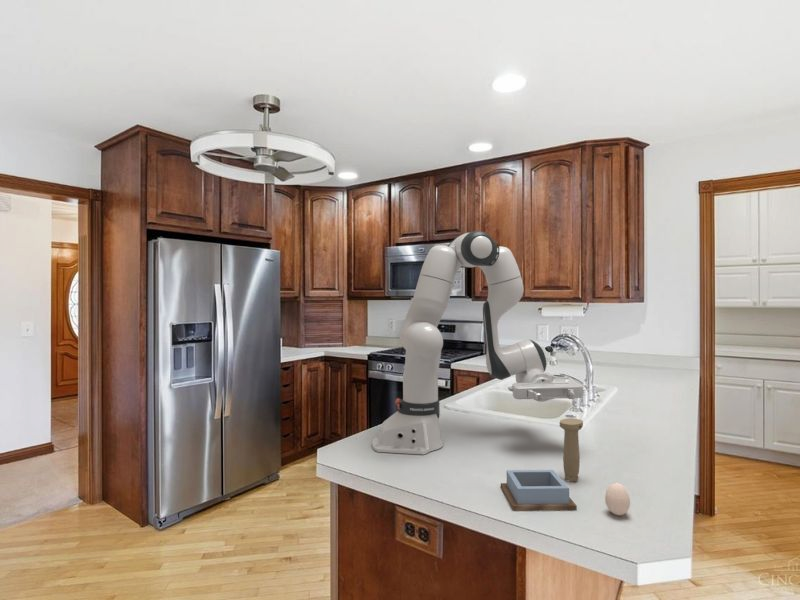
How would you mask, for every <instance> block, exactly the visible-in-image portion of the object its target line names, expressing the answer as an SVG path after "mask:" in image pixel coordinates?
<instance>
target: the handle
mask: <svg viewBox="0 0 800 600" xmlns="http://www.w3.org/2000/svg"><path fill="white" fill-rule="evenodd" d="M583 426H584V421H583V420H582V419H580V418H573V417H569V418H562V419H560V420H559V427H560V428H561V429H562V430H564V431H563V432H564V437H563V440H564V441H563V452H562V453H563V455H562V457H563V458H562V459H563V461H562V463H563V471H564V480H565V481H568V482H571V483H572V482H574V481H575V482H578V480H579V473H580V463H581V462H580V457H581V455H580V445H579V444H580V443H579V431H580V430H582V428H583Z"/></svg>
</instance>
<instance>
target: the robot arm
mask: <svg viewBox="0 0 800 600" xmlns="http://www.w3.org/2000/svg"><path fill="white" fill-rule="evenodd" d="M475 267H479V268H480V269H481V271H482V272H483V275H484V276H485V281H486V285H487V291H488V292H487V293H488V294H487V299H486V301H484V303H483V304H482V320H483V321H482V322H483V331H484V332H483V334H484V342H485V354H486V355H485V356H486V357H485V364H486V369H487V372H488V373H489V375H490V376H491V377H492V378H494V379H497V380H500V381H503V380H505V379H508V378H510V377H512V376H515V382H514V383H512V386H508V391H509V392H512V396H513V398H514V399H515V400H534V401H536V402H542V403H543V402H547V401H551V400H554V399H555V400H556V399H569V400H575V399H581V398H583V397H584V388H583V387H584V386H583V385H582V384H581V383H579V382H578V381H575V380H573V379H571V378H569V376H568V375H562V374H561V375H559V374H553V373H548V372H546V370H547V366H548V365H547V357H546V355H545V352H544V350H543V348H542V347H541V346H540V344H538V343H537V342H535V340H532V339H526V340H523V341H519V342H516V343H513V344H509V345H507V346H503V347H500V340H499V331H498V323H499V320H500V319H501V318H502V316H504V315H505V314H506V313H507V312H508V311H509V310H511V309H513V307H515V306H516V305H517V304H518V303H519V302H520V301H521V299H522V297H523V295H524V292H525V291H524V282H523V279H522V276H521V271H520V269H519V265H518V263H517V260H516V258H515V256H514V254H513V252H512V250H511V249H510V248H508V247H506V246H501V245H500V246H499V244H497V243H496V242H495V240H494V239H493V237H492V236H490V235H489V234H488V233H487V232H484V231H481V230H474V231H471V232H465V233H463V234H461V235H459V236H457V237H455V238H454V239H453V240H451V242H450V243H449V244H448V245H443V244H439V245H434V246H432V247H431V248H430V249H429V251H428V253H427V254H426V257H425V259H424V262H423V264H422V267H421V270H420V273H419V276H418V280H417V283H416V287H415V291H414V294H413V297H412V300H411V304H410V306H409V309H408V310H407V313H406V315H405V318H404V322H403V325H402V327H401V328H400V329H401V330H400V332H399V341H400V344H401V346H402V347H403V350H405V358H404V359H405V360H404V368H403V369H404V370H403V373H402V398H399V397H398V398H396V399H395V405H396V412H394V413H393V414H391V415H390V416H389V417H388V418H387V419H385V420H384V421H383V422H382V423H381V426H380V429H379V432H378V435H376V436H375V437H374V438H373V439H372V442H371V443H372V444H371V446H372V447H371V448H372V449H373V450H374V451H375V452H379V453H388V454H389V453H393V454H408V455H426V454H428V453H430V452H433V451H437V450H439V449H441V448H442V447H443V446H444V440H443V438H442V433H441V427H440V416H441V403H440V400H439V370H440V364H441V357H442V349H443V347H444V338H443V335H442V333H441V330H440V329H439V328H438V326H439V324H440V322H441V319H442V317H443V316H444V313H445V312H446V310H447V308H448V304H449V302H450V297H451V294H452V291H453V290H452V289H453V287H454V283H455V278H456V275H457V274H458V273H457V272H458V271H459V270H460V269H462V268H475Z"/></svg>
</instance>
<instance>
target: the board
mask: <svg viewBox="0 0 800 600" xmlns="http://www.w3.org/2000/svg"><path fill="white" fill-rule="evenodd" d="M500 489H501V491H502V493H503V495H504V497H505V496H506V497H505V498H506V500H507V503H508V504H509V506H510V508H511V510H512V511H514V512H516V511H517V512H520V511H522V512H524V511H525V512H526V511H528V510H529V511H530V512H531V511H534V510H537V511H539V510H542V511H577V509H578V506H577V504H576V503H575V502H574V501H573V499H572V498H571V497H570V496H569V504H517V502H516V500H515V498H514V497H513V495H512V493H511V491H510V490H509V488H508V486H507V482H500ZM529 511H528V512H529Z"/></svg>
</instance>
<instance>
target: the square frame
mask: <svg viewBox="0 0 800 600" xmlns="http://www.w3.org/2000/svg"><path fill="white" fill-rule="evenodd" d="M506 483H507V486H508V488H509V490H510V491H511V493H512V495H513V497H514V498H515V500H516V502H517V504H569V497H570V487H569V486H568V485H567V484H566V483H565V481H564V480H563V479H562V478H561V477H560V476H559V475H558V473H556V471H555V470H554V469H523V470H522V469H513V470H512V469H509V470H506Z"/></svg>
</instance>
